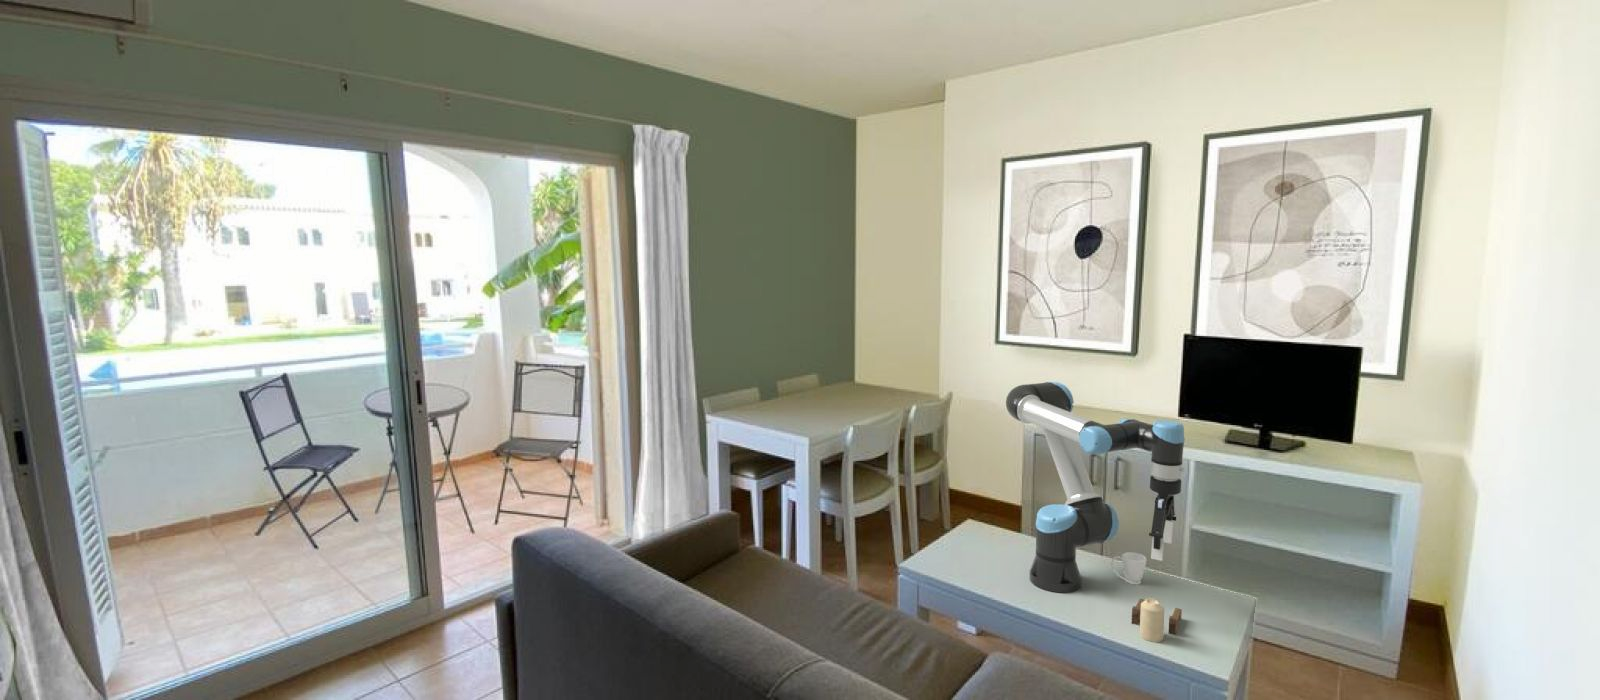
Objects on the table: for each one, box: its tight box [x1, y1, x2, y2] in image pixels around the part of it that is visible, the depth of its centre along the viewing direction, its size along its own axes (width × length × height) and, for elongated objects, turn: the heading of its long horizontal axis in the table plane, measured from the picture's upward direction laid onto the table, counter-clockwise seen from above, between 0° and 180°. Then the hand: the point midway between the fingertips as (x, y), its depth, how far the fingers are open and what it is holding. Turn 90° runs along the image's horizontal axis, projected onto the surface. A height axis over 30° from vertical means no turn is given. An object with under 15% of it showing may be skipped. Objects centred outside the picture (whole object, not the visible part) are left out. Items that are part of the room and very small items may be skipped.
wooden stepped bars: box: [1131, 598, 1183, 636], centre depth 184 cm, size 10×10×4 cm
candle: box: [1139, 598, 1165, 643], centre depth 176 cm, size 6×6×10 cm
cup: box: [1110, 551, 1147, 585], centre depth 208 cm, size 7×10×8 cm
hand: (1161, 550), depth 186 cm, fingers open, 13 cm apart
